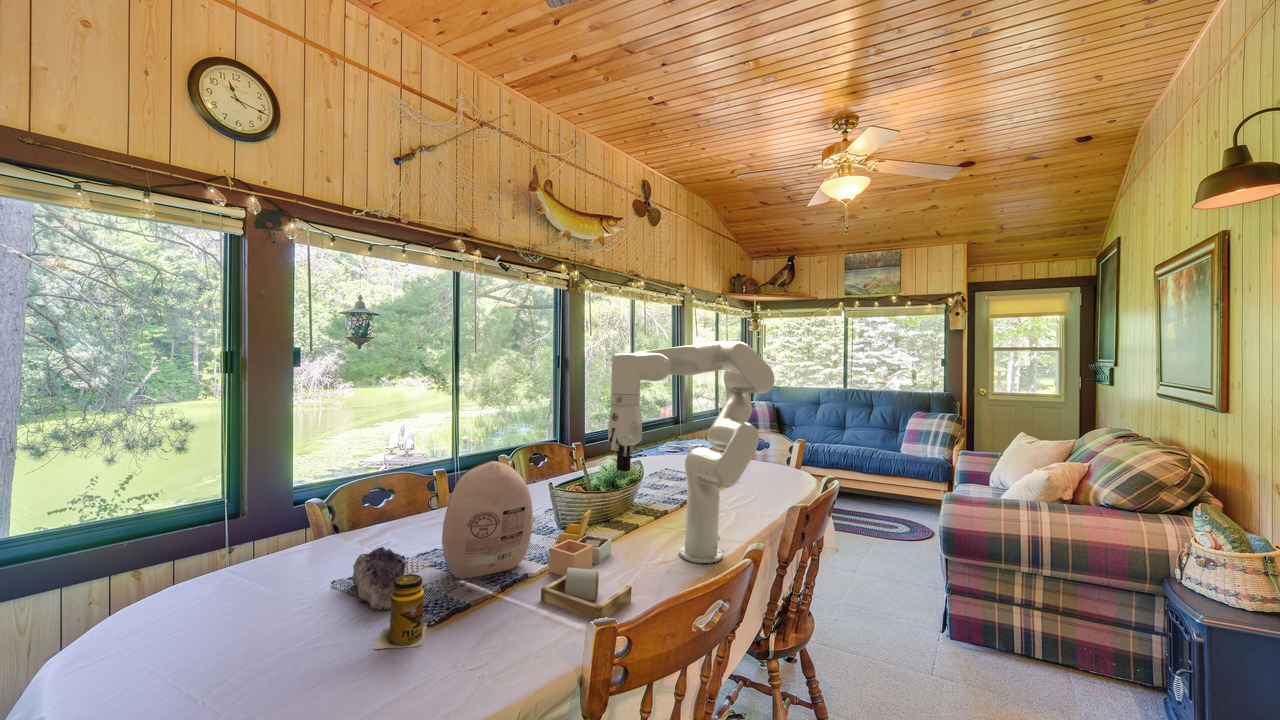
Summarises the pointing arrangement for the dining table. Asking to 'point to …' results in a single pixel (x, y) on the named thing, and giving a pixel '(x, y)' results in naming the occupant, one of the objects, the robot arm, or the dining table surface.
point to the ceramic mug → (582, 583)
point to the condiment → (405, 614)
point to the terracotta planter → (570, 557)
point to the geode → (377, 577)
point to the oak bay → (583, 607)
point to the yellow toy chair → (575, 530)
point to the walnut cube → (593, 543)
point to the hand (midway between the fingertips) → (623, 470)
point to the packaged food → (487, 521)
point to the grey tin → (600, 552)
